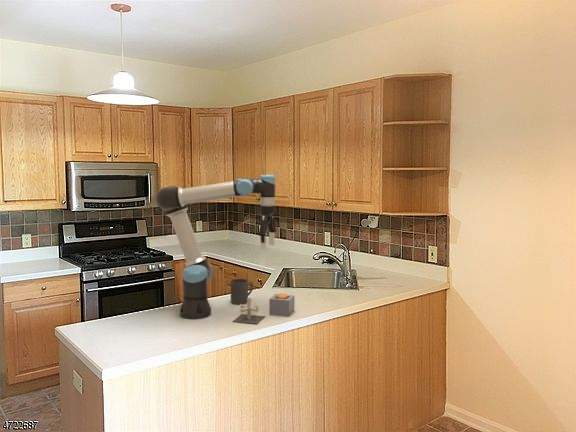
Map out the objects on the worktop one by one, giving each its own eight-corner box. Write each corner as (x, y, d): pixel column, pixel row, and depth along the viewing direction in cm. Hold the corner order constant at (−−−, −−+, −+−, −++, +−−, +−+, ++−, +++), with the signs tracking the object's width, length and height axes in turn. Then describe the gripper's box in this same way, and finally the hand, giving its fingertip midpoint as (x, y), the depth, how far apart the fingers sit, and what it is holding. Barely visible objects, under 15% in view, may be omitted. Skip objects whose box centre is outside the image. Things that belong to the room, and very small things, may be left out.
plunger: (275, 300, 243) (275, 295, 242) (278, 298, 248) (278, 293, 247) (285, 301, 241) (285, 296, 241) (288, 298, 246) (288, 293, 246)
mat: (232, 322, 230) (232, 321, 230) (241, 314, 241) (241, 313, 241) (256, 324, 227) (256, 323, 227) (264, 317, 238) (264, 316, 238)
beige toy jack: (248, 314, 241) (248, 294, 240) (263, 318, 235) (264, 297, 234) (234, 318, 233) (234, 298, 232) (249, 323, 227) (249, 302, 226)
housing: (269, 314, 242) (269, 298, 241) (275, 309, 251) (275, 293, 250) (289, 316, 239) (289, 300, 238) (294, 310, 249) (294, 295, 248)
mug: (237, 306, 257) (237, 283, 255) (227, 302, 263) (227, 280, 262) (257, 301, 266) (257, 279, 265) (247, 297, 273) (247, 276, 271)
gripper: (266, 207, 236) (266, 251, 238) (281, 203, 260) (281, 243, 262) (252, 207, 238) (252, 250, 240) (268, 203, 262) (268, 242, 264)
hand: (267, 246), depth 251 cm, fingers open, 13 cm apart
